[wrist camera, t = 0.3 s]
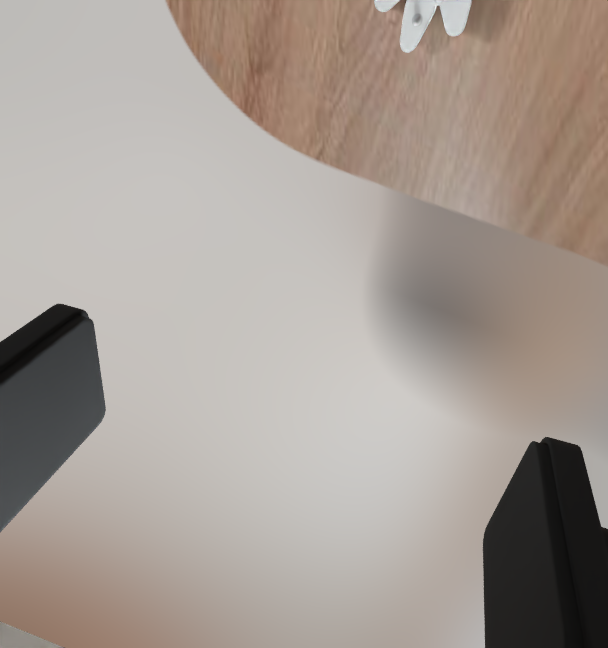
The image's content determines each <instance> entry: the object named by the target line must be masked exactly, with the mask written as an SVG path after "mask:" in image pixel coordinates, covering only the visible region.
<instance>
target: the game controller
mask: <svg viewBox="0 0 608 648" xmlns="http://www.w3.org/2000/svg"><path fill="white" fill-rule="evenodd" d="M399 1H400V0H374V3H375V7H376V8H377V9H378V10H379V11H381V12H386V11H388V10H390V9H391V8H392V7H393V6H394V5H395V4H396V3H398V2H399ZM471 3H472V0H407V1H406V4H405V9H404V15H403V22H402V29H401V37H400V46H401V49H402V50H403V51H404V52H406V53H408V52H411V51H413V50H414V49H415V47H416V46H417V44H418V43H419V41H420V39H421V38H422V36H423V34H424V32H425V30H426V28H427V26H428V24H429V22H430V20H431V19H432V17H433V15H434V13H435V10H436V7H437V6H440V10H441V14H442V18H443V22H444V26H445V30H446V32H447V34H448V35H450V36H458V35H459V34H461V33H462V32H463V30H464V28H465V25H466V23H467V19H468V15H469V11H470V7H471Z"/></svg>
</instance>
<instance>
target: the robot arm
mask: <svg viewBox="0 0 608 648" xmlns="http://www.w3.org/2000/svg"><path fill="white" fill-rule="evenodd" d="M105 410H106V409H105V400H104V393H103V386H102V380H101V372H100V365H99V358H98V351H97V344H96V336H95V330H94V324H93V321H92V320H91V319H89V317H88V314H87V313H86V311H84V310H81V309H78V308H75V307H71V306H67V305H64V304H56V305H54V306H52V307H51V308H49V309H48V310H46V311H45V312H43V313H42V314H41V315H39V316H38V317H36V318H35V319H33V320H32V321H30V322H29V323H27V324H26V325H25V326H23V327H22V328H20V329H19V330H17V331H16V332H14V333H13V334H11V335H10V336H9V337H7V338H6V339H4V340H3V341H1V342H0V532H1V531H2V530H3V529H4V528H5V527H6V526H7V524H8V523H9V522H10V521H11V520H12V519H13V518H14V517H15V516H16V515H17V514H18V512H19V511H20V510H21V509H22V508H23V507H24V506H25V505H26V504H27V503H28V501H29V500H30V499H31V498H32V497H33V496H34V495H35V494H36V493H37V492H38V490H39V489H40V488H41V487H42V486H43V485H44V484H45V483H46V482H47V481H48V480H49V479H50V478H51V476H52V475H53V474H54V473H55V472H56V471H57V470H58V469H59V468H60V467H61V466H62V464H63V463H64V462H65V461H66V460H67V459H68V458H69V457H70V456H71V455H72V454H73V452H74V451H75V450H76V449H77V448H78V447H79V446H80V445H81V444H82V443H83V442H84V440H85V439H86V438H87V437H88V436H89V435H90V434H91V433H92V432H93V431H94V429H95V428H96V427H97V426H98V425H99V424H100V423H101V421H102V419H103V417H104V415H105ZM483 563H484V565H483V566H484V567H483V568H484V614H485V648H608V529H606V528H603V527H601V524H600V521H599V517H598V513H597V509H596V505H595V501H594V497H593V493H592V489H591V485H590V481H589V477H588V474H587V470H586V466H585V462H584V458H583V454H582V451H581V448H580V447H579V446H578V445H575V444H571V443H567V442H564V441H560V440H556V439H553V438H549V437H545V438H544V439H542V441H541V442H540V443H538V442H535V441H532V442H531V443H530V445H529V446H528V448H527V450H526V452H525V454H524V456H523V458H522V460H521V462H520V463H519V465H518V467H517V469H516V471H515V473H514V475H513V477H512V479H511V481H510V483H509V484H508V486H507V489H506V490H505V492H504V494H503V496H502V498H501V500H500V502H499V504H498V506H497V508H496V509H495V511H494V513H493V515H492V517H491V519H490V521H489V523H488V525H487V527H486V530H485V533H484V539H483ZM0 648H64V647H62V646H59V645H57V644H54V643H52V642H49V641H47V640H45V639H42V638H40V637H37V636H35V635H32V634H30V633H27V632H25V631H22V630H20V629H17V628H15V627H12V626H10V625H7V624H5V623H2V622H0Z"/></svg>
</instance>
